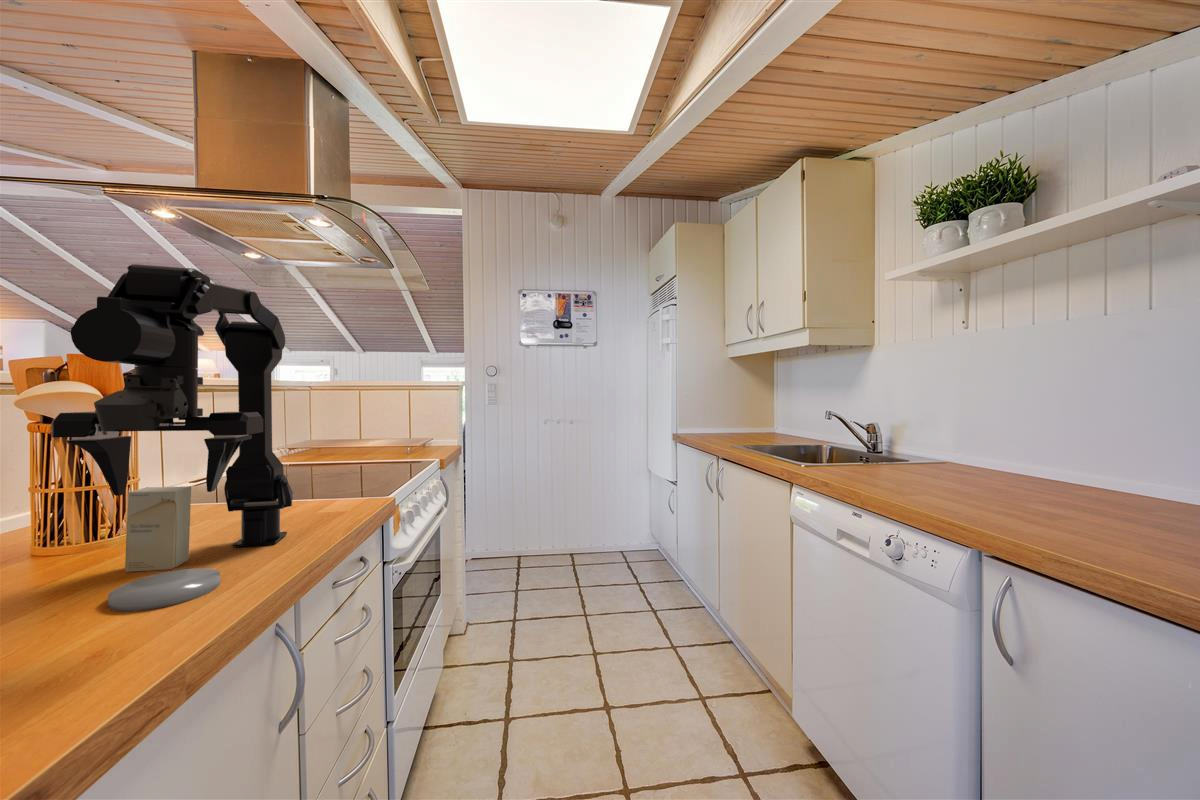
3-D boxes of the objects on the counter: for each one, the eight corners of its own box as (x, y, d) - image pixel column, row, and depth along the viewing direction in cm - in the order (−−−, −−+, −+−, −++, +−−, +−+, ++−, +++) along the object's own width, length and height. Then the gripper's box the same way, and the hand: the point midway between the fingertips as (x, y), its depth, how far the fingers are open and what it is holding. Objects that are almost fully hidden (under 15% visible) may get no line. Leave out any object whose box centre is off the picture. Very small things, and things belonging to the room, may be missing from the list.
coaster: (143, 581, 66) (143, 572, 66) (234, 573, 69) (234, 565, 69) (83, 616, 55) (83, 606, 55) (194, 605, 58) (194, 595, 58)
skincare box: (123, 573, 68) (124, 492, 68) (144, 562, 73) (144, 486, 72) (174, 569, 70) (175, 490, 70) (191, 559, 74) (192, 485, 74)
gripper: (4, 360, 46) (3, 514, 46) (225, 366, 52) (224, 503, 52) (89, 367, 57) (89, 492, 57) (265, 371, 62) (264, 485, 62)
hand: (166, 493), depth 57 cm, fingers open, 9 cm apart
